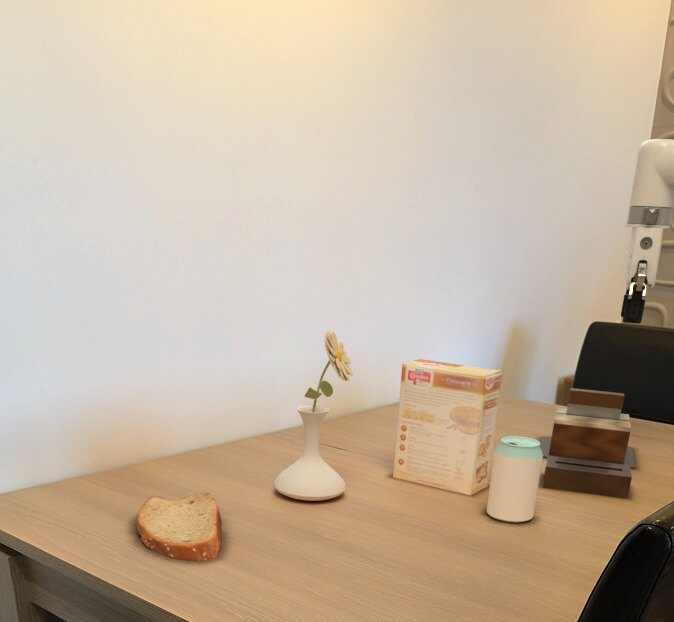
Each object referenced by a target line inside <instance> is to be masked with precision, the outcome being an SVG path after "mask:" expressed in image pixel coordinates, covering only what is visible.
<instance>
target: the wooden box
mask: <svg viewBox="0 0 674 622" xmlns="http://www.w3.org/2000/svg"><path fill="white" fill-rule="evenodd" d="M566 413H567V407H565V406H564V407H563V406H556V410H555V415H554V420H553V427H552V432H551V436H542V437H541V440H540V448H541V451H542V453H543V459H547V457H548V455H549V456H557V457H565V458H573V459H581V460H590V461H598V462H606V463H614V464H622V465H630V467H631V470H635V469H636V464H635V463H636V462H635V459H634V458H635V457H634V451H633V446H628V445H629V441H630V435H631V431H632V425H631V424H632V423H631V419H630V414H629V413H621V414H620V419H619V420H611V419H602V418H593V417H584V416H574V415H566Z"/></svg>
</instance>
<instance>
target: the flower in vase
mask: <svg viewBox="0 0 674 622" xmlns="http://www.w3.org/2000/svg"><path fill="white" fill-rule="evenodd" d="M337 337H338V336H337V334H336V333H335V332H334V331H333V330H332V331H331V333H330V330H326V333H325V334H324V338H323V339H324V348H325V351H326V354H327V357H328V362H327V363H326V365H325V366H324V368H323V371H322V373H321V375H320V378H319V380H318V386H317V389H316V390H315V389H314V388H312V387H308V389H307V391H306V392H305V394H304V397H305V398H308V399H311V400H313V404H305V405H299V406H297V407H296V411H297V412H298V413H299V415H300V417H301V420H302V425H303V431H304V432H303V433H304V446H303V452H302V454H301V456H300V457H299V458H298V459H297V460H296V461H295V462H293V463H291V465H289V466H287V467H286V468H284V470H283V471H281V472H280V473H279V474H278V475H277V477H275V480H274V482H273V487H274V488H275V490H276V491H277V492H278V493H280V494H281V495H284V496H286V497H289V498H291V499H294V500H301V501H307V502H308V501H310V502H311V501H313V502H314V501H315V502H317V501H326V500H330V499H333V498H337V497H339V496H341V495H342V494H343V493H344V491H345V490H346V489H347V486H346V483H345V480H344V479H343V478H342V477H341V475H340V474H339V473H338V472H337V471H336V470H335V469H334V468H332V466H330V465H329V464H328V463H326V462H325V461H324V459H323V457H321V454H320V436H321V435H320V434H321V429H322V425H323V422H324V420H325V418H326V416H327V414H329V412H330V408H329V407H326V406H323V405H317V402H318V399H319V398H320V397H321V396H322V395H324V396H325V397H327V398H329V397H331V396H332V395H333V393H334V390H333V385H332V384H331V383H330V382H329V381H327V380H325V379H324V376H325V374H326V372H327V370H328V369H329V366H331V367H332V368H333V370H334V372H335V373H336V376H337V377H338V378H341V380H342V381H345V382H350V381H351V379H350V376H351V377H352V376H353V371H352V368H351V366H350V364H351V363H352V361H351V359H350V357H349V356H348V355H347V353H346V351H345V345H344V343H343V342H342V341H340V342H339V341H338V339H337ZM320 391H321V392H320Z"/></svg>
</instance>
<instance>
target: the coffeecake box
mask: <svg viewBox="0 0 674 622" xmlns="http://www.w3.org/2000/svg"><path fill="white" fill-rule="evenodd" d="M502 377H503V370H499V369H492V368H484V367H477V366H472V365H465V364H464V365H463V364H457V363H450V362H445V361H444V362H443V361H437V360H431V359H425V358H419V359H415V360H411V361H406V362H403V363H402V366H401V375H400V388H399V397H398V398H399V399H398V400H399V401H398V411H397V412H398V413H397V424H396V433H395V435H396V436H395V445H394V446H395V448H394V458H393V459H394V460H393V470H392V473H393V474H392V478H395V479H398V480H402V481H407V482H411V483H415V484H419V485H424V486H428V487H432V488H435V489H441V490H444V491H449V492H453V493H456V494H457V493H458V494H462V495H466V496H473V495H474V494H477V493H478V492H480V491H481V490H483V489H485V488H487V487H488V482H489V477H490V476H489V474H490V470H491V469H490V468H491V462H492V453H493V446H494V445H493V444H494V439H495V432H496V431H495V430H496V423H497V416H498V408H499V401H500V394H501V385H502Z"/></svg>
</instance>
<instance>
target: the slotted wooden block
mask: <svg viewBox="0 0 674 622" xmlns="http://www.w3.org/2000/svg"><path fill="white" fill-rule="evenodd" d="M542 480H543V481H542V486H541V488H542V489H549V490H557V491H563V492H572V493H580V494H588V495H595V496H603V497H611V498H616V499H617V498H618V499H625V500H627V499H628V498H629V494H630V488H631V483H632V480H633V475H632V469H631V467H630V465H622V464H614V463H606V462H598V461H590V460H581V459H573V458H565V457H557V456H549V455H548V457H547V458H546V463H545V469H544V474H543V479H542Z"/></svg>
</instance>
